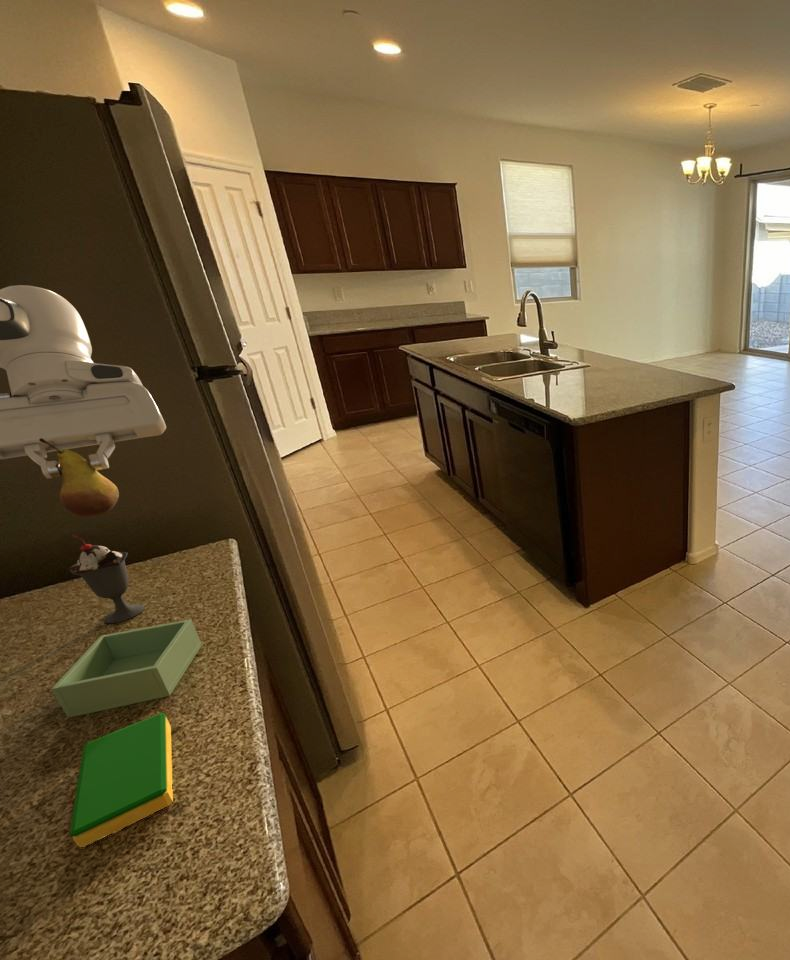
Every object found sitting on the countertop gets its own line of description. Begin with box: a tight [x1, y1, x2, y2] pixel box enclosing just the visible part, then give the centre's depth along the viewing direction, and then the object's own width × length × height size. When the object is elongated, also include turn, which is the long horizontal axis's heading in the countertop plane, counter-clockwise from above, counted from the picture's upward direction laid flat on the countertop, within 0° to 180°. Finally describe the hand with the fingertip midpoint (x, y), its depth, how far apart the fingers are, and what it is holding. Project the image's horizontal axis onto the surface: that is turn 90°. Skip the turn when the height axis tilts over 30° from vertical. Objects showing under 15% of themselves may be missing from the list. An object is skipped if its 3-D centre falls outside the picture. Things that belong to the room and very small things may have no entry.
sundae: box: [68, 534, 145, 624], centre depth 83 cm, size 7×7×15 cm
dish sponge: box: [69, 712, 174, 848], centre depth 57 cm, size 7×14×2 cm, turn 41°
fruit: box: [39, 438, 120, 518], centre depth 71 cm, size 6×6×12 cm
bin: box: [51, 618, 203, 719], centre depth 71 cm, size 11×11×5 cm
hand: (77, 471), depth 71 cm, fingers closed on fruit, 3 cm apart
